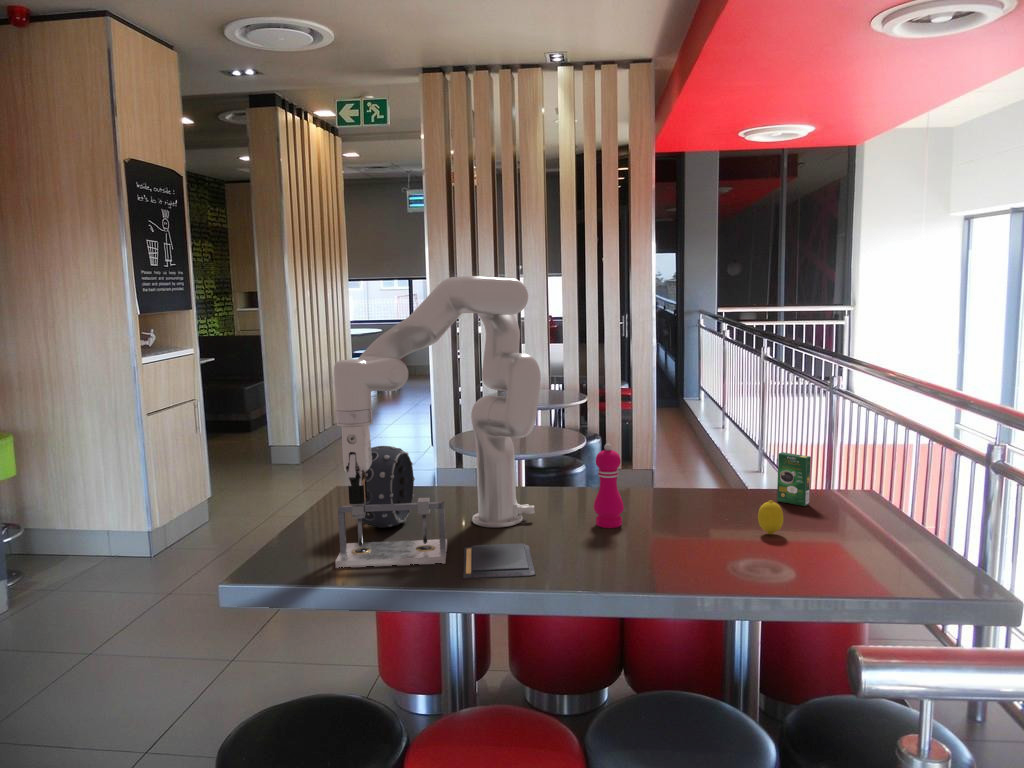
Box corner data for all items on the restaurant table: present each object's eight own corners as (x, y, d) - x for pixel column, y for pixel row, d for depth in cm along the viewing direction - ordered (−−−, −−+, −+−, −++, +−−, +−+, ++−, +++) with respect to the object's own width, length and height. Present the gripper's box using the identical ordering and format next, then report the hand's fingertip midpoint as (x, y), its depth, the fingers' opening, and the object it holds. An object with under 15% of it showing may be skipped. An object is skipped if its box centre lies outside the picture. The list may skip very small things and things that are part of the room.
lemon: (787, 533, 175) (787, 499, 174) (776, 539, 171) (777, 504, 170) (764, 529, 179) (764, 496, 178) (753, 535, 175) (753, 501, 174)
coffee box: (811, 504, 199) (811, 455, 197) (806, 507, 197) (806, 457, 195) (781, 499, 205) (782, 451, 203) (776, 501, 203) (776, 453, 201)
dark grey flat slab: (535, 570, 152) (459, 573, 152) (535, 579, 152) (459, 582, 152) (531, 539, 172) (463, 542, 172) (531, 548, 172) (464, 550, 172)
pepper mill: (590, 527, 184) (589, 445, 182) (598, 519, 191) (597, 440, 189) (619, 530, 182) (618, 447, 180) (627, 521, 188) (626, 441, 186)
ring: (418, 515, 200) (415, 439, 197) (392, 538, 180) (388, 455, 178) (379, 514, 201) (375, 439, 199) (349, 537, 182) (345, 454, 180)
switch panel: (447, 545, 174) (445, 492, 172) (445, 563, 162) (443, 506, 160) (345, 549, 172) (342, 496, 171) (335, 568, 161) (332, 510, 159)
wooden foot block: (367, 543, 168) (364, 477, 167) (365, 548, 165) (362, 480, 163) (356, 544, 168) (352, 477, 167) (353, 549, 165) (350, 481, 163)
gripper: (366, 422, 155) (370, 510, 157) (376, 411, 172) (380, 491, 174) (329, 424, 155) (334, 512, 157) (343, 412, 172) (347, 492, 173)
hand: (358, 500), depth 165 cm, fingers closed on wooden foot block, 3 cm apart
